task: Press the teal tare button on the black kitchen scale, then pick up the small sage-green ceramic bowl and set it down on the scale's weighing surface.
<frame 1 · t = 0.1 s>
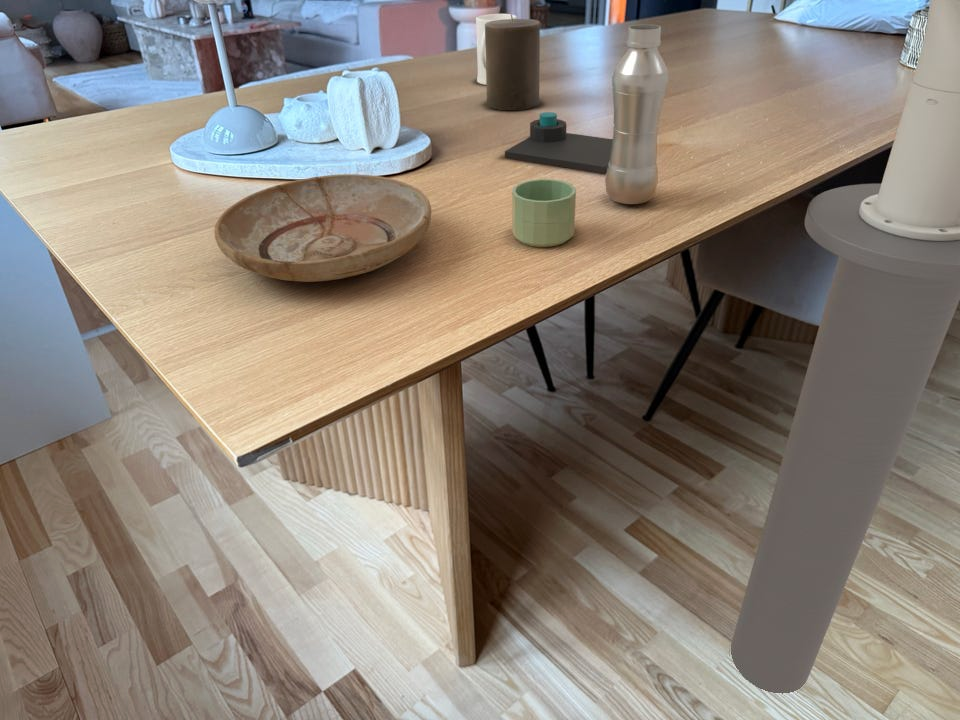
scale: (571, 153, 104), on the table
tare button: (548, 120, 107), point 3 cm above the table, slide at 0.1 cm
ceramic bowl: (331, 254, 79), on the table
bowl: (543, 235, 80), on the table
mug: (493, 83, 143), on the table
pillar candle: (513, 105, 129), on the table
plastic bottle: (629, 201, 88), on the table
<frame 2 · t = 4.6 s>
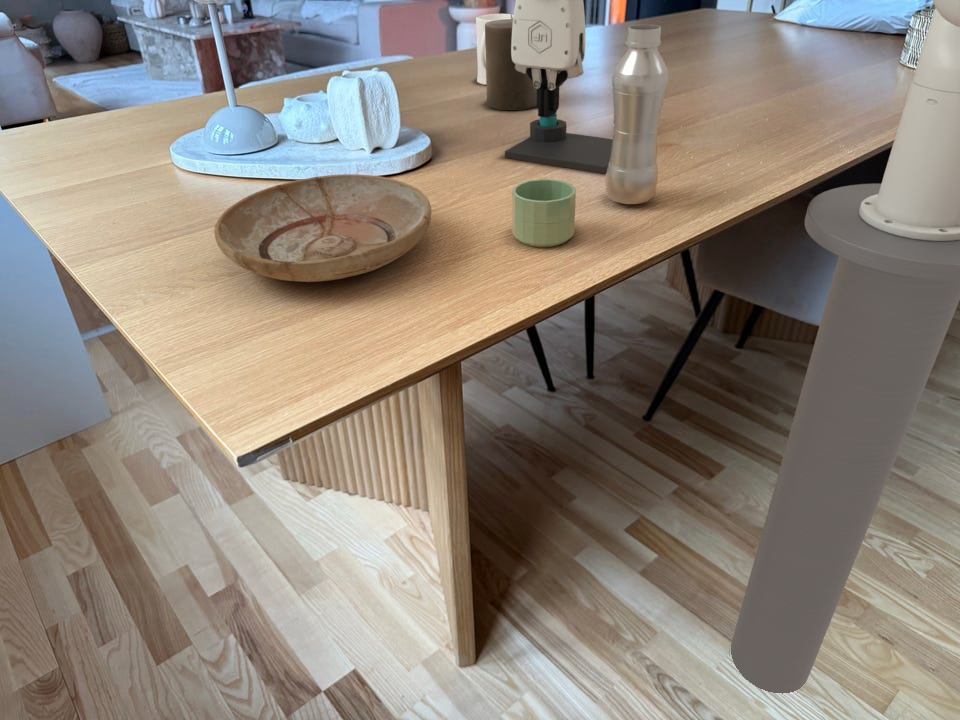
hand: (547, 114, 106), 4 cm above the table, tool pointing down, fingers closed
tare button: (548, 120, 107), point 3 cm above the table, slide at 0.0 cm, touching gripper
everything else where it was.
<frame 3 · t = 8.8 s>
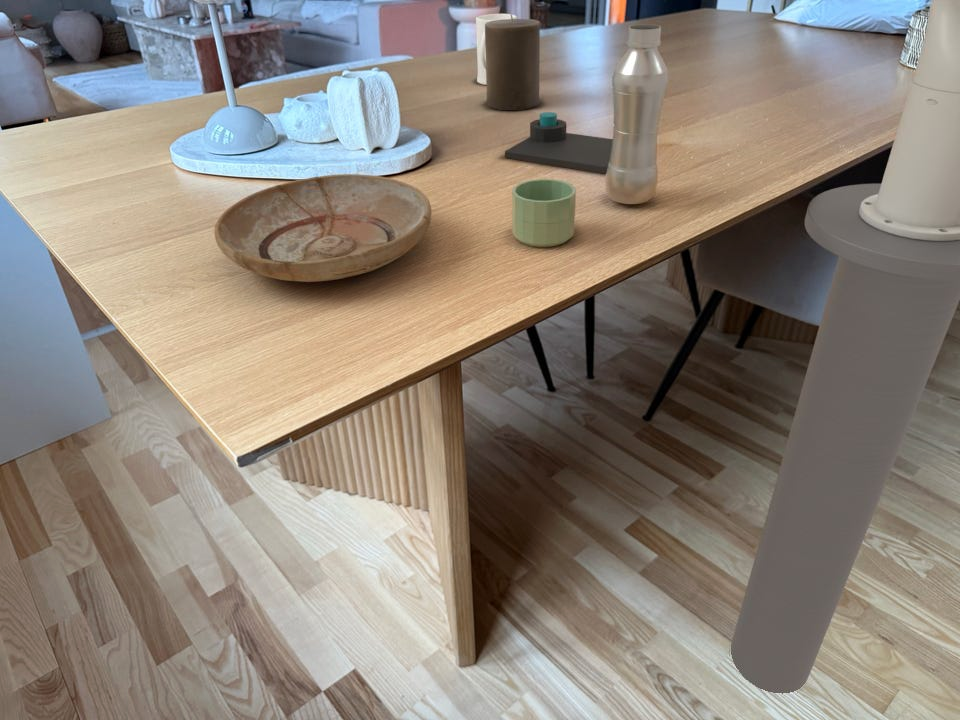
hand: (547, 0, 75), 23 cm above the table, tool pointing down, fingers closed
tare button: (548, 120, 107), point 3 cm above the table, slide at 0.1 cm
everything else where it was.
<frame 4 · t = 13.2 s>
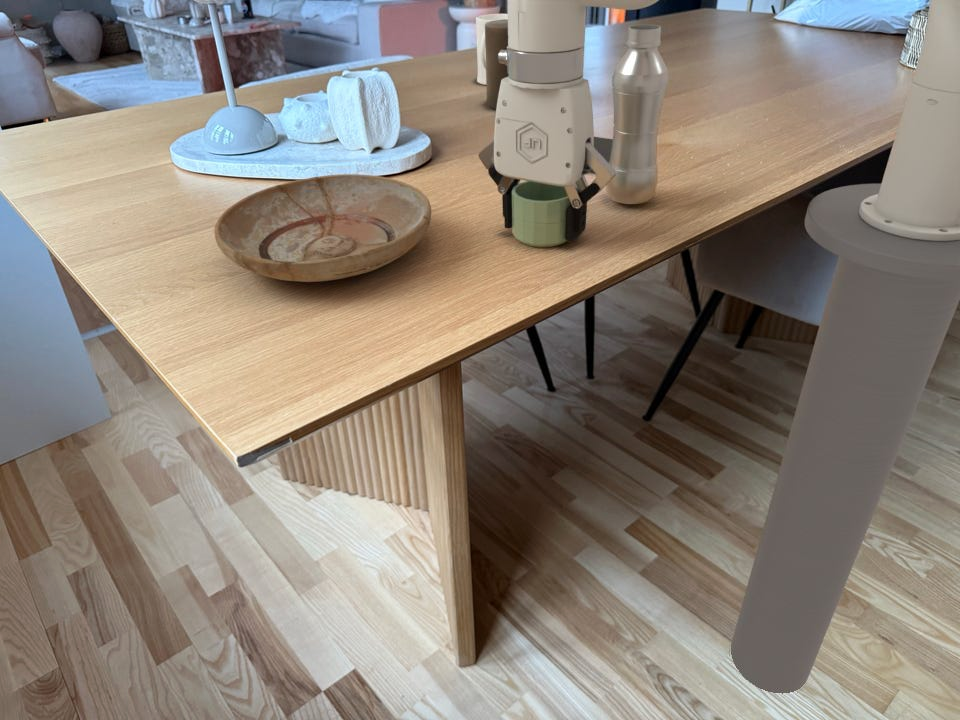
hand: (543, 229, 80), 1 cm above the table, tool pointing down, fingers closed on bowl, 7 cm apart
bowl: (543, 235, 80), on the table, touching gripper
everything else where it was.
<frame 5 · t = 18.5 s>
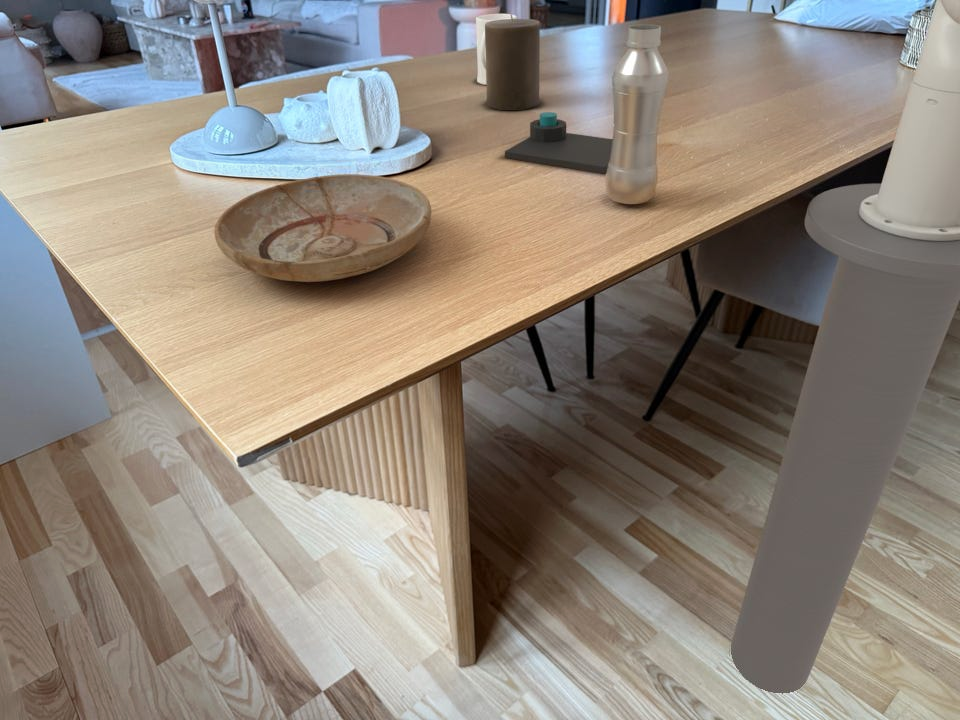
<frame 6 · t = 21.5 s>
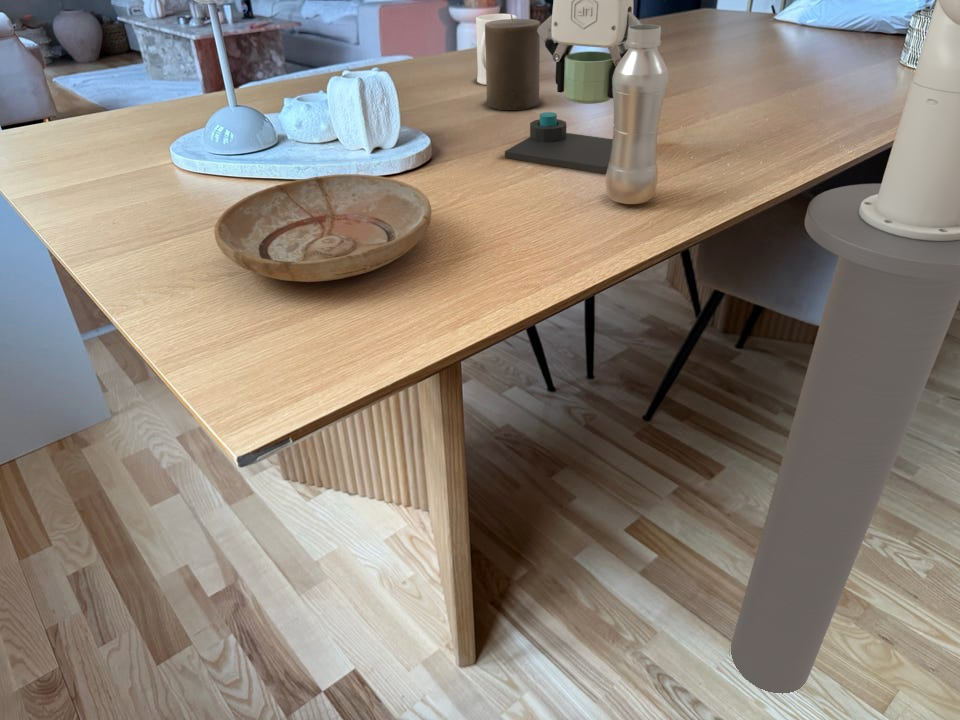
hand: (589, 92, 98), 9 cm above the table, tool pointing down, fingers closed on bowl, 7 cm apart
bowl: (588, 98, 98), point 8 cm above the table, touching gripper
everything else where it was.
when the fingers open (2 cm above the table, at t = 24.0 s): bowl stays where it is, resting on scale.
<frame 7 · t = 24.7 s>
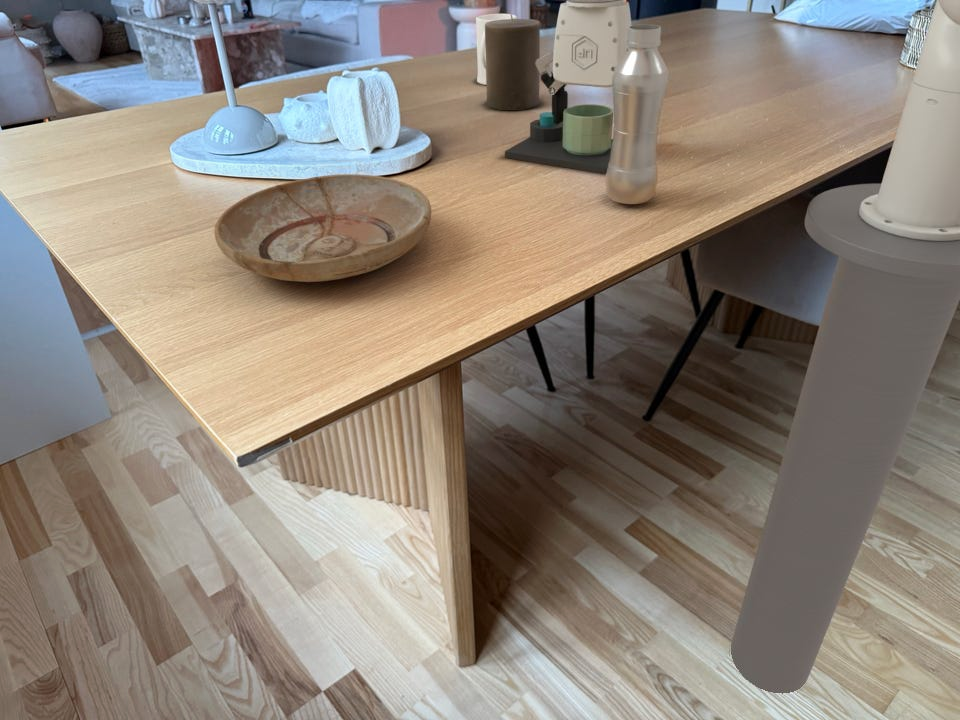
hand: (590, 125, 100), 5 cm above the table, tool pointing down, fingers open, 9 cm apart
bowl: (586, 149, 102), point 1 cm above the table, touching scale
everything else where it was.
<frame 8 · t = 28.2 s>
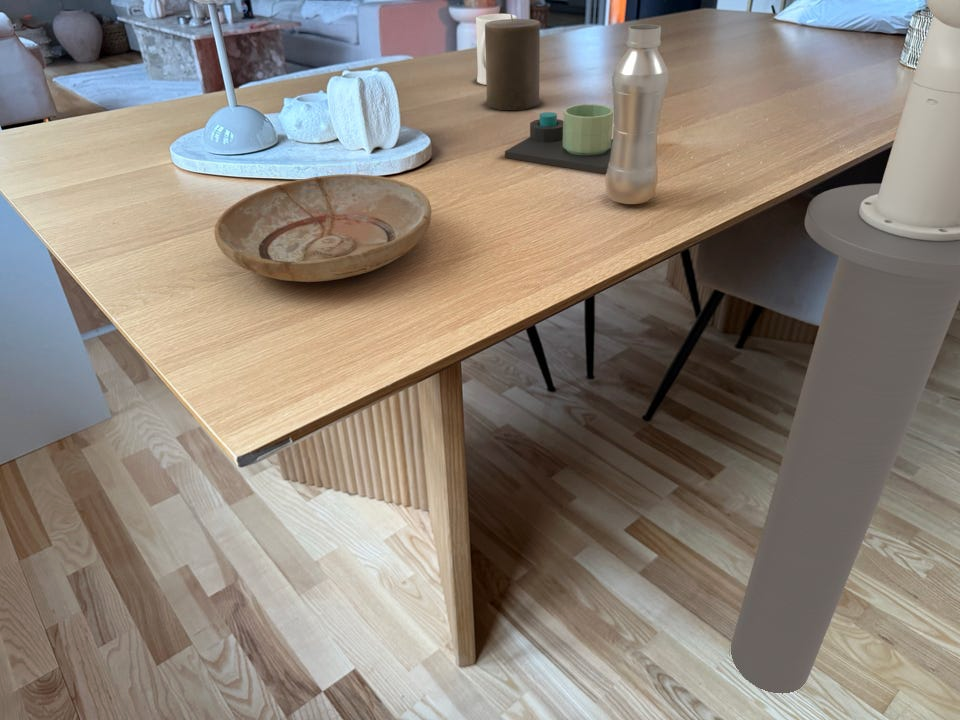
nothing on the table moved.
at the end: tare button pushed in 1.2 cm at the most during the clip, back to where it started at the end; bowl inside the target area on the scale (2.4 cm from its centre), point 1.0 cm above the scale's base; bowl touching scale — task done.
